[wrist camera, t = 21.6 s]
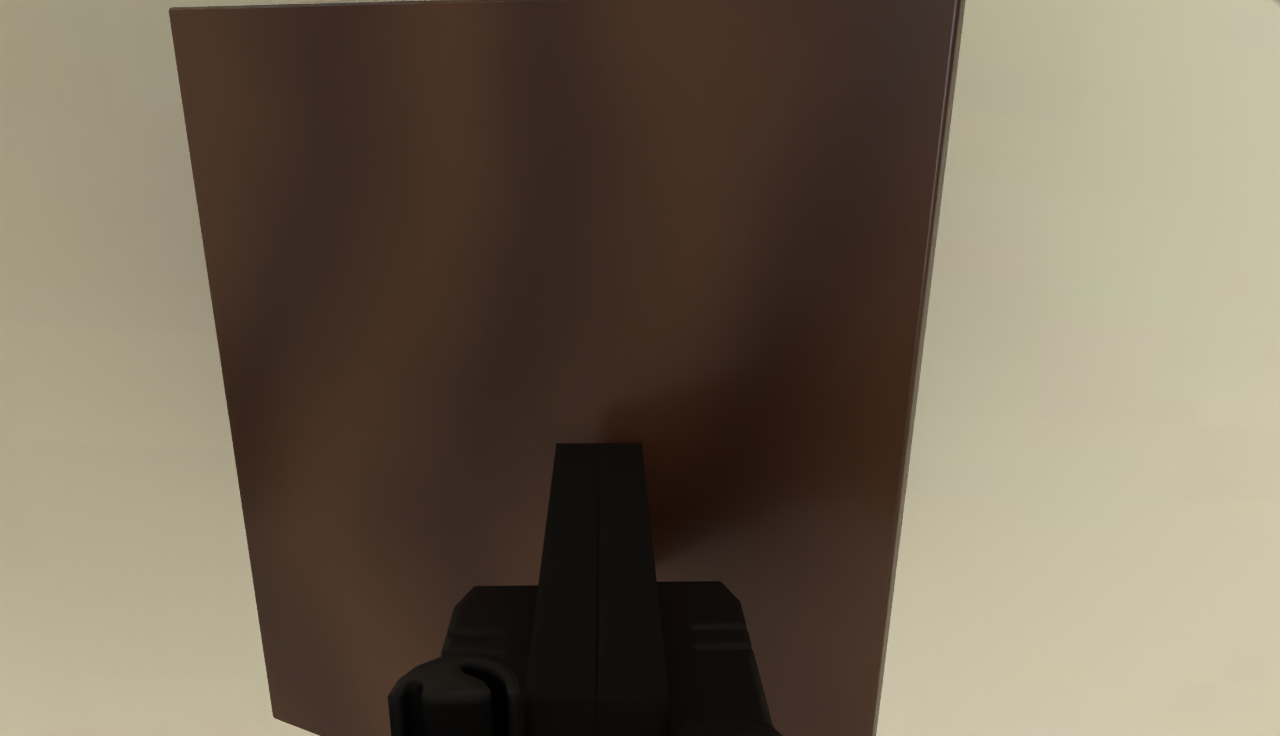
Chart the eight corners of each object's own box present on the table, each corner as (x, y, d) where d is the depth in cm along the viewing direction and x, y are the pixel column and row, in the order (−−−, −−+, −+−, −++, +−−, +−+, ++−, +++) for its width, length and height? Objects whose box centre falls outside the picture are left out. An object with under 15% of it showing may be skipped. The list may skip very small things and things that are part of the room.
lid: (966, -9, 12) (961, -15, 11) (855, 907, 17) (848, 941, 17) (201, 10, 17) (166, 7, 17) (295, 698, 23) (272, 718, 22)
